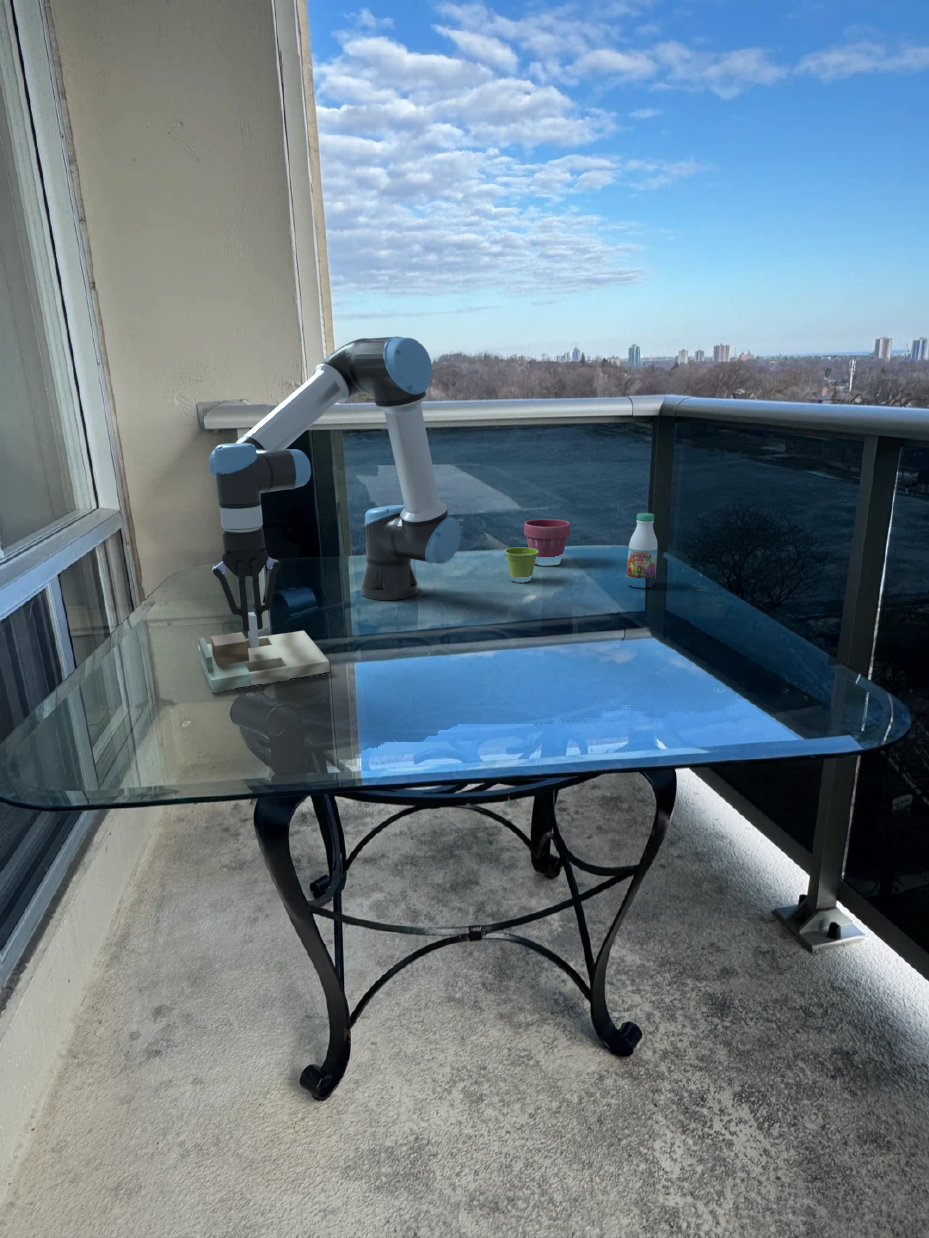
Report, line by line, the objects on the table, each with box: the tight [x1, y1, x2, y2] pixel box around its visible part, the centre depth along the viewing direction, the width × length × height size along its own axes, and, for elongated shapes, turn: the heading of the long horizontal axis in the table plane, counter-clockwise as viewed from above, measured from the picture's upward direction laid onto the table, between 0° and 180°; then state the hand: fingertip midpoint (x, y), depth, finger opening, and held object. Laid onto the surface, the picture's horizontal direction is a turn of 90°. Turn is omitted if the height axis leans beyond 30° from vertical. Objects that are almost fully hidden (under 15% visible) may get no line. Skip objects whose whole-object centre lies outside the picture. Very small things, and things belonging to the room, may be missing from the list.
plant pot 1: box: [504, 546, 538, 577], centre depth 207 cm, size 9×9×9 cm
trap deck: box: [197, 630, 331, 693], centre depth 147 cm, size 22×20×6 cm
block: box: [210, 631, 249, 666], centre depth 144 cm, size 6×6×4 cm
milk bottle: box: [626, 512, 658, 578], centre depth 201 cm, size 8×8×20 cm
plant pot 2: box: [523, 518, 571, 557], centre depth 226 cm, size 14×14×13 cm
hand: (254, 645), depth 146 cm, fingers closed
